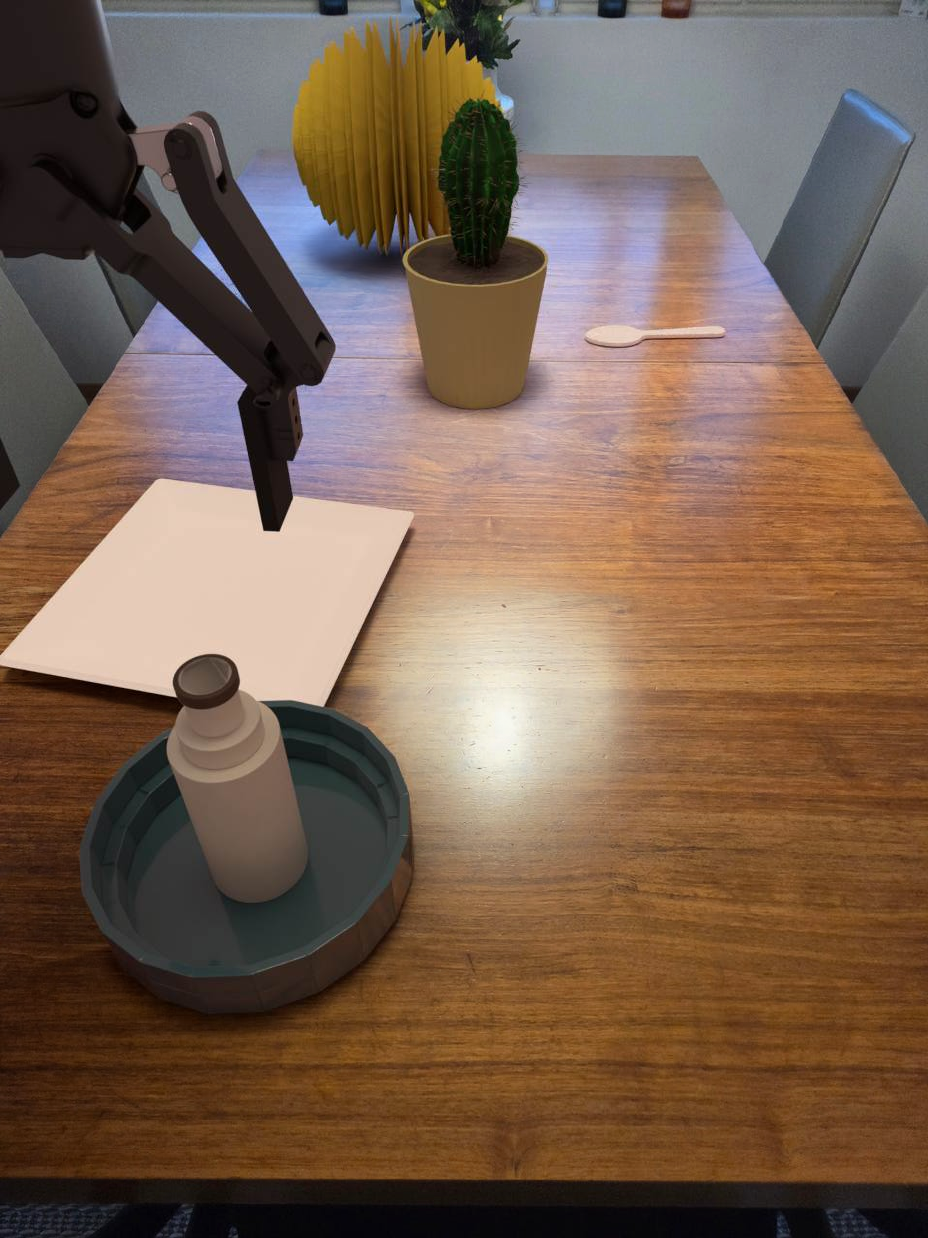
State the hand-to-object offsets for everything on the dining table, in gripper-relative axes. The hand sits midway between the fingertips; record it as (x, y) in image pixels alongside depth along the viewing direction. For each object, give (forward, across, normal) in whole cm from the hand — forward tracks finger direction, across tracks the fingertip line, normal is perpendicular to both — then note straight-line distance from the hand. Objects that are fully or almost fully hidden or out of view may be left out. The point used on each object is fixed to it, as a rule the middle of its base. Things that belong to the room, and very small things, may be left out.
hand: (137, 508), depth 41 cm
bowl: (+25, -3, +3) cm, 25 cm away
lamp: (+25, +3, -103) cm, 106 cm away
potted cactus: (+25, -11, -61) cm, 67 cm away
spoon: (+25, -33, -76) cm, 86 cm away
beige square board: (+25, +7, -22) cm, 34 cm away
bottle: (+24, -3, +3) cm, 25 cm away
